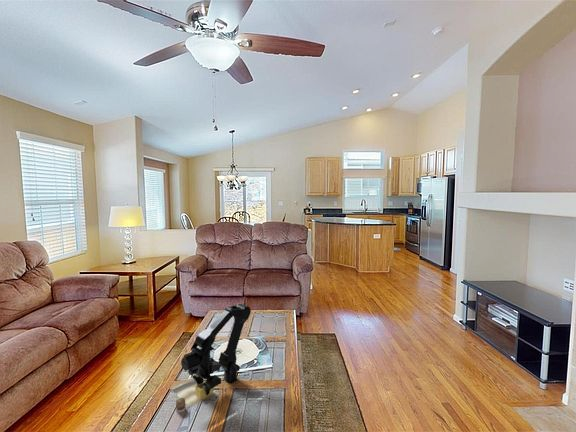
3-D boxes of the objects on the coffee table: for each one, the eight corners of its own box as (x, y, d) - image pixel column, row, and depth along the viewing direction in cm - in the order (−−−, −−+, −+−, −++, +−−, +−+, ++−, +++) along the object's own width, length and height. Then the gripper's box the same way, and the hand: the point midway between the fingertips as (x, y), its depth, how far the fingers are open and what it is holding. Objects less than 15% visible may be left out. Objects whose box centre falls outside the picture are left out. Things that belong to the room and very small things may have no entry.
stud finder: (213, 392, 150) (213, 383, 150) (200, 399, 145) (200, 389, 145) (208, 388, 153) (208, 379, 153) (195, 395, 148) (195, 385, 148)
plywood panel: (216, 394, 150) (216, 393, 150) (189, 409, 140) (189, 407, 140) (195, 376, 164) (195, 375, 164) (169, 388, 154) (169, 387, 154)
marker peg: (186, 411, 138) (186, 400, 138) (178, 415, 136) (178, 404, 135) (182, 407, 141) (182, 396, 141) (174, 411, 138) (174, 400, 138)
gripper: (230, 361, 148) (230, 392, 149) (206, 348, 160) (207, 377, 161) (210, 371, 139) (210, 404, 141) (187, 356, 151) (188, 387, 153)
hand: (204, 392), depth 149 cm, fingers closed on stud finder, 5 cm apart
